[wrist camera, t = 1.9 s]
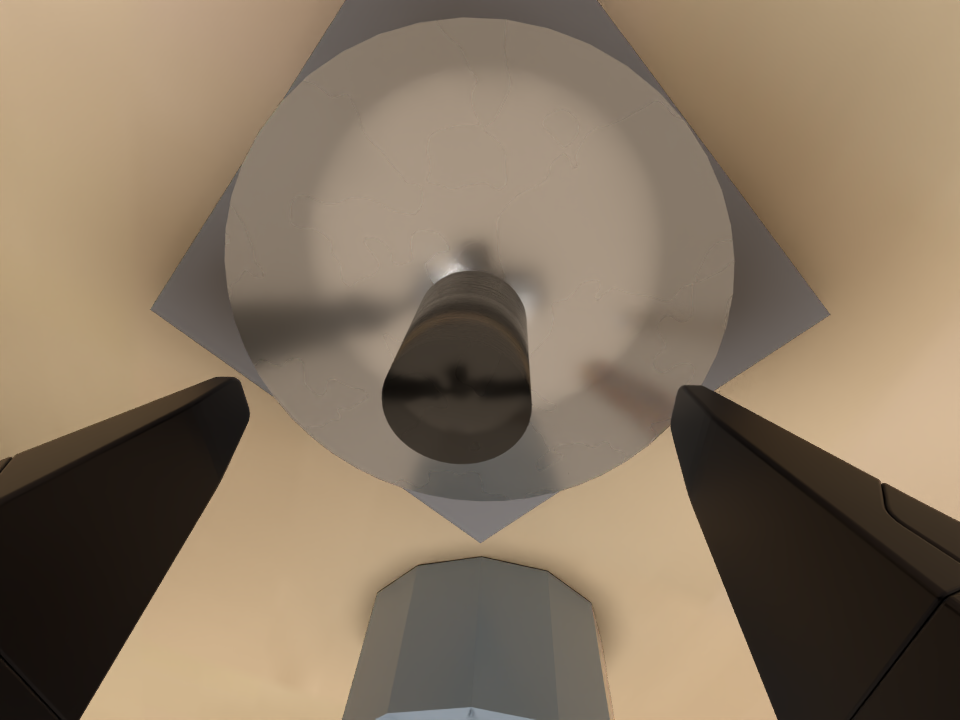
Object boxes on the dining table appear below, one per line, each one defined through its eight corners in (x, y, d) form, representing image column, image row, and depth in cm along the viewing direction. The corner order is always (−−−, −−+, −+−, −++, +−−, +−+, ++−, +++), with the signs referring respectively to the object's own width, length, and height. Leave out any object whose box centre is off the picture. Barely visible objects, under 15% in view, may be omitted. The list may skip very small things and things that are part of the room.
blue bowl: (328, 626, 22) (278, 767, 18) (480, 523, 18) (469, 671, 13) (485, 712, 26) (479, 852, 21) (645, 642, 21) (684, 797, 17)
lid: (159, 309, 14) (7, 397, 10) (460, -161, 9) (410, -420, 4) (480, 537, 18) (470, 668, 14) (819, 313, 13) (973, 417, 8)
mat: (161, 303, 14) (150, 309, 14) (464, -168, 9) (461, -183, 8) (481, 532, 18) (480, 543, 18) (819, 307, 13) (830, 314, 13)
